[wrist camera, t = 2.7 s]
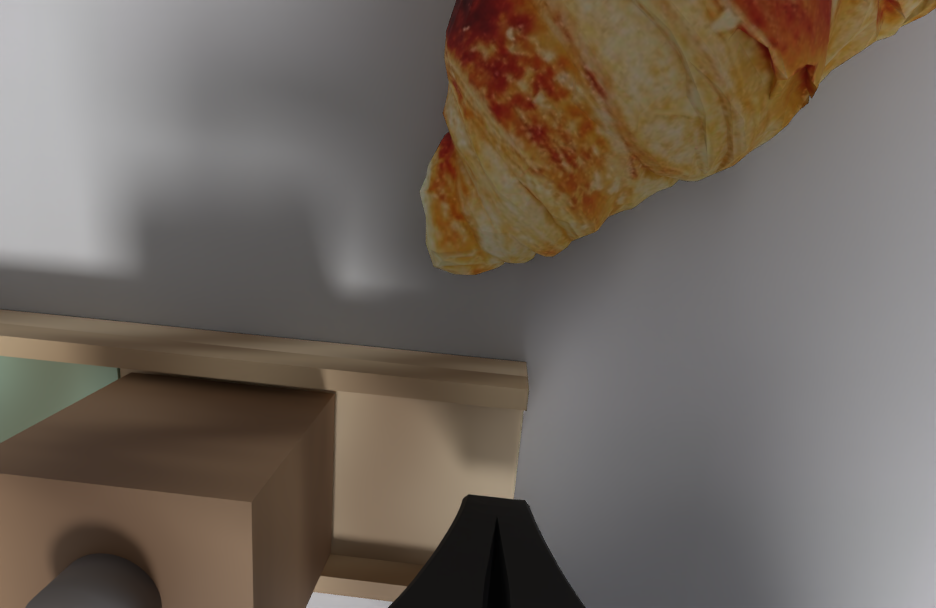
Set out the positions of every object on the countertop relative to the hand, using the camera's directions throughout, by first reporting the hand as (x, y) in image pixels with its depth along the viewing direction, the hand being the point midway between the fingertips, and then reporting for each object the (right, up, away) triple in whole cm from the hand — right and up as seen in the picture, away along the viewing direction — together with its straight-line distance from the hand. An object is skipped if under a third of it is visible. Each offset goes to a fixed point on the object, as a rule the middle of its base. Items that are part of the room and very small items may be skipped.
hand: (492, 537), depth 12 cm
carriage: (-6, +1, +2) cm, 7 cm away
